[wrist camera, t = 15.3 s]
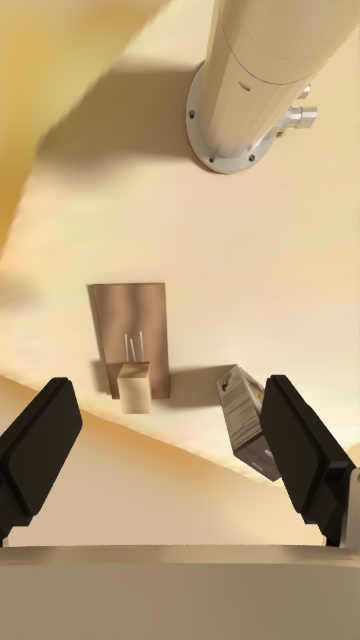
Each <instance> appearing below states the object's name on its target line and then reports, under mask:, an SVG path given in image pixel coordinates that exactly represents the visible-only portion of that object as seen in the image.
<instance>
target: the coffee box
mask: <svg viewBox="0 0 360 640" xmlns="http://www.w3.org/2000/svg"><path fill="white" fill-rule="evenodd" d="M216 385H217V389H218V393H219V397H220V401H221V405H222V409H223V413H224V417H225V422H226V426H227V430H228V434H229V438H230V442H231V446H232V450H233V454H234V456H235V457H237V458H238V459H240V460H241V461H243V462H244V463H246V464H247V465H249V466H250V467H252V468H253V469H255V470H256V471H258V472H259V473H261V474H262V475H264V476H265V477H267V478H268V479H270V480H271V481H273V482H274V481H276V480H277V479H279V478H281V475H280V473H279V470H278V468H277V465H276V463H275V461H274V458H273V456H272V453H271V451H270V449H269V446H268V444H267V441H266V439H265V437H264V434H263V432H262V429H261V427H260V421H259V420H260V414H261V408H262V403H263V397H264V392H265V388H264V387H263V386H262V385H261V384H259V383H258V382H257V381H256V380H255V379H253V378H252V377H251V376H250V375H249V374H248V373H246V372H245V371H244V370H243V369H242V368H241V367H239V366H238V365H235V366H234V367H233V368H231V369H230V370H229V371H228V372H227V373H225V374H224V375H223V376H222V377H221V378H220V379H218V380H217V381H216Z"/></svg>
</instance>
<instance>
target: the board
mask: <svg viewBox="0 0 360 640" xmlns="http://www.w3.org/2000/svg"><path fill="white" fill-rule="evenodd" d="M93 291H94V297H95V302H96V308H97V314H98V320H99V325H100V331H101V337H102V343H103V348H104V354H105V360H106V366H107V371H108V377H109V383H110V389H111V394H112V399H120V394H119V388H118V382H117V377H118V375H119V373H120V370H121V368H122V366H123V364H124V362H150V368H151V380H152V392H153V396H152V399H160V398H170V386H169V363H168V340H167V316H166V293H165V283H134V284H95V285H94V286H93Z"/></svg>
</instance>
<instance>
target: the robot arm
mask: <svg viewBox="0 0 360 640" xmlns="http://www.w3.org/2000/svg"><path fill="white" fill-rule="evenodd" d="M359 22H360V0H215V1H214V7H213V14H212V20H211V27H210V34H209V40H208V47H207V53H206V60H205V63H204V64H203V65H202V66H201V68H200V69H199V71H198V73H197V74H196V76H195V78H194V80H193V82H192V85H191V87H190V91H189V94H188V98H187V106H186V128H187V134H188V138H189V141H190V144H191V146H192V148H193V151H194V152H195V154H196V155H197V157H198V158H199V160H200V161H202V162H203V163H204V164H205V165H206V166H207V167H209V168H210V169H212V170H214V171H217V172H220V173H226V174H232V173H239V172H241V171H244V170H247V169H248V168H250V167H252V166H253V165H255V164H256V163H257V162H258V161H259V160H260V159H261V158H262V157H263V156H264V155H265V154H266V153H267V152H268V150H269V149H270V147H271V146H272V144H273V142H274V140H275V138H276V136H277V134H278V132H283V131H285V130H286V128H290V127H294V128H310V127H311V126H312V125H313V123H314V121H315V118H316V114H317V107H316V106H314V107H300V108H292V106H291V105H292V104H293V103H294V101H295V100H296V99H305V98H306V97H307V95H308V92H309V89H310V82H311V81H312V80H313V79H314V78H315V77H316V75H317V74H318V73H319V72H320V71H321V69H322V68H323V67H324V66H325V65H326V63H327V62H328V61H329V60H330V59H331V58H332V56H333V55H334V54H335V53H336V52H337V50H338V49H339V48H340V47H341V46H342V44H343V43H344V42H345V41H346V40H347V38H348V37H349V36H350V35H351V33H352V32H353V31H354V29H355V28H356V27H357V25H358V24H359ZM190 116H193V119H191V118H190ZM210 159H212V160H213V162H212V163H210V162H209V160H210ZM249 159H251V162H250V161H249ZM259 421H260V427H261V429H262V432H263V434H264V437H265V439H266V441H267V444H268V446H269V449H270V451H271V453H272V456H273V458H274V461H275V463H276V465H277V468H278V470H279V473H280V475H281V477H282V480H283V482H284V485H285V487H286V489H287V492H288V494H289V497H290V499H291V501H292V504H293V506H294V508H295V510H296V512H297V513H300V514H301V515H302V518H303V520H304V522H305V524H317V525H318V527H319V529H320V531H321V533H322V535H324V538H323V544H322V546H308V545H307V546H306V545H99V546H98V545H97V546H28V547H27V546H26V547H8V534H9V533H10V531H11V529H12V527H13V526H29V524H30V522H31V520H32V518H33V516H35V515H37V514H38V513H39V511H40V509H41V508H42V505H43V504H44V502H45V500H46V498H47V496H48V494H49V492H50V490H51V488H52V486H53V483H54V482H55V480H56V478H57V476H58V474H59V472H60V470H61V468H62V466H63V464H64V462H65V460H66V458H67V456H68V454H69V452H70V450H71V448H72V446H73V444H74V442H75V440H76V438H77V436H78V434H79V433H80V431H81V428H82V418H81V414H80V410H79V407H78V403H77V399H76V396H75V392H74V388H73V385H72V382H71V381H70V380H68V378H66V377H54V378H52V379H51V380H50V381H49V382H48V383H47V384H46V386H45V387H44V388H43V389H42V390H41V391H40V392H39V394H38V395H37V396H36V397H35V398H34V399H33V400H32V401H31V403H30V404H29V405H28V406H27V407H26V408H25V409H24V410H23V412H22V413H21V414H20V415H19V416H18V417H17V418H16V419H15V421H14V422H13V423H12V424H11V425H10V426H9V428H8V429H7V430H6V431H5V432H4V433H3V434H2V435H1V437H0V640H360V468H357V467H356V466H355V465H354V463H353V462H352V461H351V459H350V458H349V457H348V455H347V454H346V453H345V451H344V450H343V449H342V447H341V446H340V445H339V443H338V442H337V441H336V439H335V438H334V437H333V435H332V434H331V433H330V431H329V430H328V429H327V427H326V426H325V425H324V424H323V422H322V421H321V420H320V418H319V417H318V416H317V414H316V413H315V412H314V410H313V409H312V408H311V407H310V406H309V405H308V404H307V403H306V402H305V401H304V399H303V398H302V397H301V395H300V394H299V393H298V391H297V390H296V389H295V387H294V386H293V385H292V383H291V382H290V381H289V379H288V378H287V377H286V376H285V375H271V377H270V378H268V379H267V381H266V387H265V392H264V397H263V403H262V408H261V414H260V420H259Z"/></svg>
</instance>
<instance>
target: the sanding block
mask: <svg viewBox="0 0 360 640" xmlns="http://www.w3.org/2000/svg"><path fill="white" fill-rule="evenodd" d="M117 382H118V388H119V394H120V401H121V407H122V413H123V414H150V408H151V402H152V396H153V392H152V380H151V368H150V362H124V364H123V366H122V368H121V370H120V373H119V375H118V377H117Z"/></svg>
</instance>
